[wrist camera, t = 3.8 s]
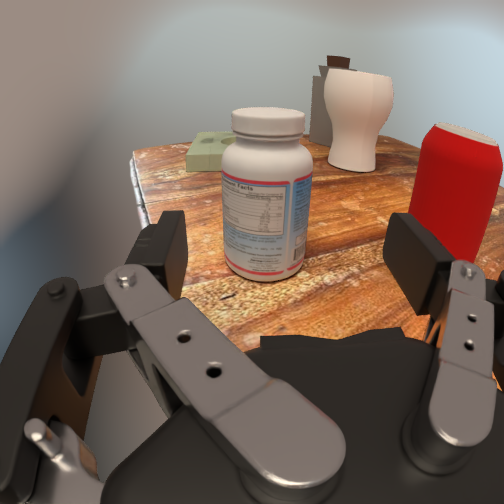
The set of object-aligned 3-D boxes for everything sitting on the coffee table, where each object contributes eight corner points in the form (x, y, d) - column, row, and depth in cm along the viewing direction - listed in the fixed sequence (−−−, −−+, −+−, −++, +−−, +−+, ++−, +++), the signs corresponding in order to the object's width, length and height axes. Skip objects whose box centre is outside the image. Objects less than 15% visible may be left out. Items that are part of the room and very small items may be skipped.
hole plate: (186, 172, 43) (185, 154, 42) (199, 145, 57) (198, 132, 55) (302, 172, 44) (303, 155, 43) (286, 145, 57) (286, 132, 56)
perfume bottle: (329, 138, 65) (334, 57, 56) (355, 145, 61) (362, 60, 51) (309, 141, 62) (314, 54, 52) (336, 148, 57) (343, 55, 48)
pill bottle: (273, 234, 29) (280, 104, 23) (319, 269, 24) (337, 117, 18) (210, 252, 26) (205, 109, 20) (249, 295, 21) (252, 120, 15)
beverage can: (472, 302, 20) (524, 153, 14) (407, 305, 20) (455, 133, 14) (442, 259, 26) (475, 129, 19) (383, 257, 26) (411, 114, 19)
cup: (378, 160, 52) (387, 77, 44) (389, 180, 43) (402, 79, 35) (319, 152, 54) (325, 68, 46) (318, 170, 45) (325, 67, 37)
